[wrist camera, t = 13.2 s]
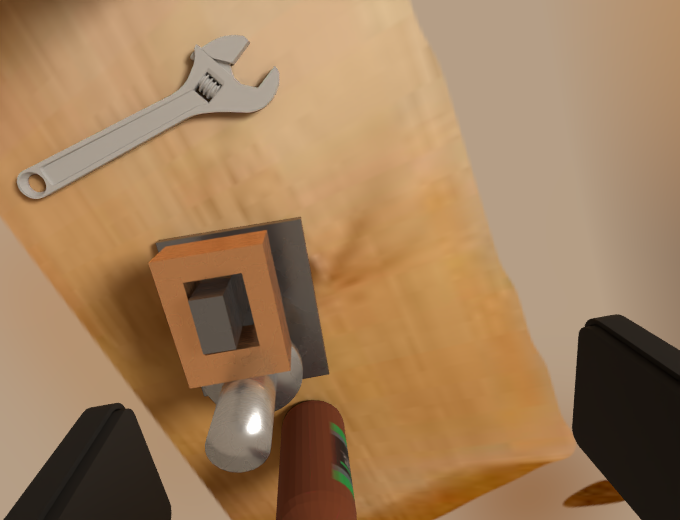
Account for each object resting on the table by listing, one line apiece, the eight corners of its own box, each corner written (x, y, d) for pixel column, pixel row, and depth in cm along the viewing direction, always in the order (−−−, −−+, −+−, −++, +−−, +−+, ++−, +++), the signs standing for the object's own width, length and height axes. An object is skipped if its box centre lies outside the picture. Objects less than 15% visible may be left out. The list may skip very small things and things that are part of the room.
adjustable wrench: (40, 201, 38) (28, 205, 36) (-4, 135, 35) (-19, 135, 34) (286, 99, 36) (286, 98, 35) (256, 23, 34) (253, 18, 33)
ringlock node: (156, 232, 39) (74, 297, 25) (299, 209, 39) (298, 259, 25) (206, 390, 45) (163, 513, 31) (328, 368, 46) (340, 479, 32)
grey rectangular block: (217, 253, 39) (188, 301, 29) (243, 249, 39) (222, 295, 29) (228, 294, 41) (203, 354, 30) (252, 290, 41) (236, 349, 30)
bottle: (319, 454, 50) (335, 754, 26) (270, 429, 48) (240, 728, 24) (355, 414, 48) (406, 694, 25) (306, 386, 46) (311, 661, 23)
